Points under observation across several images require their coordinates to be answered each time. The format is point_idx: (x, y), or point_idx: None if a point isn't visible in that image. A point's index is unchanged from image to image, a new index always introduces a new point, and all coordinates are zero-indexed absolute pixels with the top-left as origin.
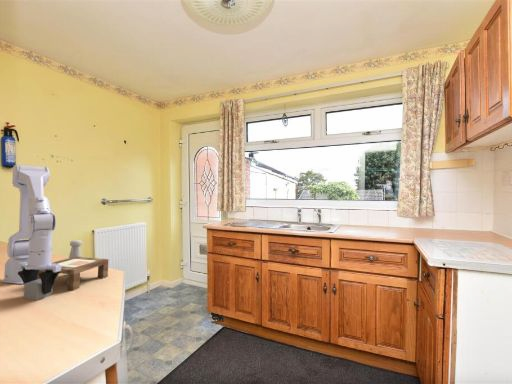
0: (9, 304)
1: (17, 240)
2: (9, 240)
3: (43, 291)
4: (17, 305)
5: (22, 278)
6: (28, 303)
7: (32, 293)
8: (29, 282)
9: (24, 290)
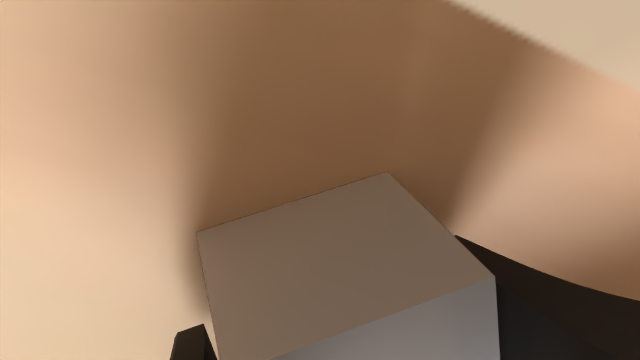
0: (352, 9)
1: None
2: None
3: (181, 351)
4: (224, 43)
5: (622, 312)
6: (176, 143)
7: (287, 252)
8: (470, 331)
9: (431, 220)
